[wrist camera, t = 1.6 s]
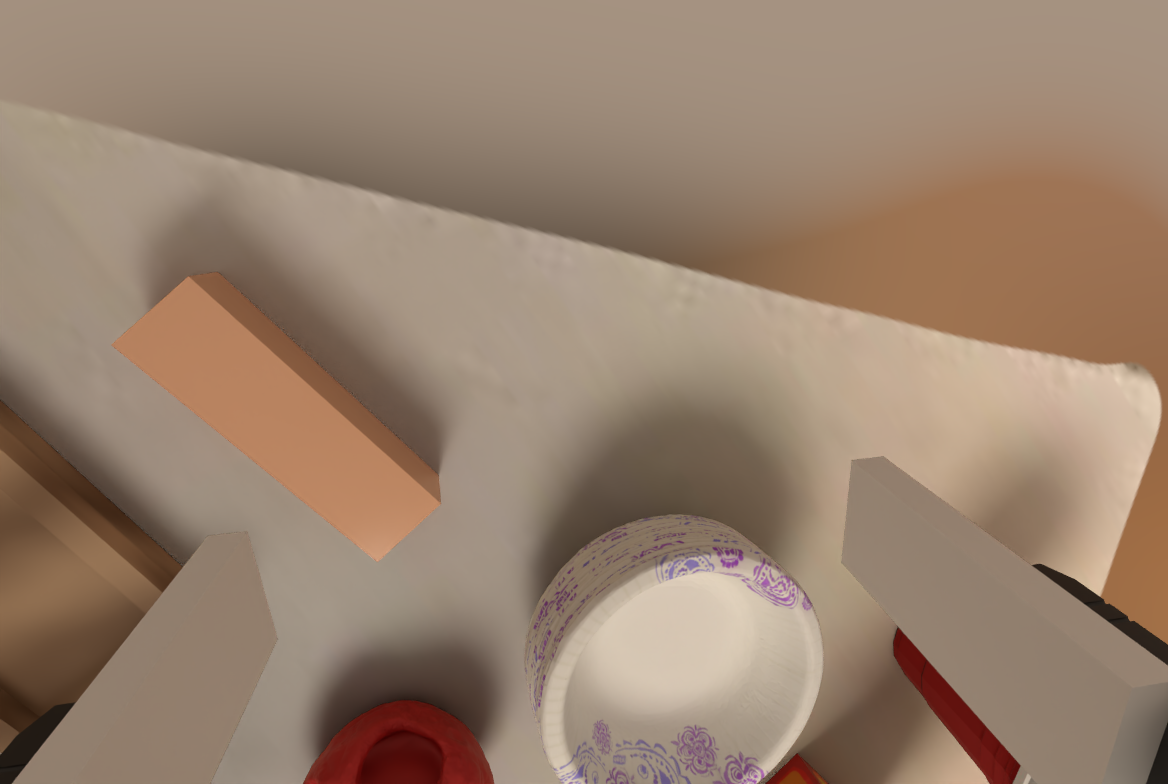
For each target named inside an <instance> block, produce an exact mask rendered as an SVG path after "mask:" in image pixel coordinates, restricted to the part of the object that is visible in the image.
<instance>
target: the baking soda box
mask: <svg viewBox="0 0 1168 784" xmlns="http://www.w3.org/2000/svg"><path fill="white" fill-rule="evenodd" d="M766 784H828V783H827V782H826V781H825V780H824V779H823V778H822V777H821V776H820V775H819V774H818V773H817V772H816V771H815V770H814V769H813V768H812V767H811V766H810V765H809V764H808V763H807V762H806V761H805V760H804V759H803V758H802V757H801V756H800V755H799V754H798V753H797V754H796V755H795V756H794V757H793V758H792V759H791V760H790V761H789V762H788V763H787V764H786V765H785V766H784V767H783V768H782V769H780V770H779V771H778V772H777V773H776V774H775V775H774V776H773V777H772V778H771V779H770V780H769V781H768V782H767V783H766Z"/></svg>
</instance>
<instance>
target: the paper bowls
mask: <svg viewBox="0 0 1168 784" xmlns="http://www.w3.org/2000/svg"><path fill="white" fill-rule="evenodd" d="M823 665H824V657H823V642H822V633H821V629H820V624H819V620H818V618H817V615H816V612H815V610H814V607H813V605H812V603H811V601H810V600H809V598H808V597H807V595H806V593H805V592H804V590H803V589H802V587H801V586H800V585H799V583H798V582H797V581H796V580H795V579H794V578H793V577H792V576H791V575H790V574H789V573H787V572H786V571H785V570H784V569H783V568H782V567H781V566H780V565H779V564H778V563H776V562H775V561H774V560H773V559H772V558H770V557H769V556H768V555H767V554H766V553H764V552H763V551H762V550H761V549H760V548H759V547H757V546H756V545H755V544H754V543H752V542H751V541H750V540H749V539H747V538H746V537H744V536H743V535H742V534H740V533H739V532H737V531H735V530H734V529H733V528H731V527H729V526H727V525H725V524H723V523H721V522H718V521H716V520H713V519H708V518H704V517H700V516H694V515H683V514H676V515H672V514H668V515H666V516H655V517H648V518H643V519H638V520H636V521H633V522H630V523H626V524H624V525H623V526H620V527H616V528H614V529H613V530H611V531H609V532H606V533H604V534H602V535H601V536H600V537H598V538H596V539H595V540H593V541H592V542H590V543H589V544H587V545H585V547H583V548H581V549H580V550H579V551H578V553H577V554H576V555H574V556H573V557H572V558H571V560H570V561H569V562H568V563H567V564H565V565H564V566H563V567H562V569H561V570H560V571H559V572H558V573H557V575H556V576H555V577H554V579H553V580H552V582H551V583H550V584H549V585H548V586H547V589H546V590H545V592H544V593H543V595H542V596H541V598H540V600H539V602H538V604H537V606H536V608H535V611H534V613H533V615H532V617H531V620H530V623H529V627H528V631H527V636H526V645H525V672H526V679H527V687H528V692H529V696H530V699H531V705H532V709H533V713H534V717H535V720H536V723H537V726H538V730H539V735H540V739H541V743H542V747H543V749H544V752H545V755H546V757H547V759H548V761H549V763H550V766H551V768H552V769H553V771H554V772H555V774H556V776H557V777H558V778H559V779H560V781H561V782H562V784H757V783H758V782H759V781H760V780H761V779H762V778H764V777H765V776H766V775H767V774H768V773H769V772H770V771H771V770H772V769H773V768H774V767H775V766H776V765H777V764H778V763H779V762H780V761H781V759H782V758H783V757H784V756H785V754H786V753H787V752H788V751H789V749H790V748H791V747H792V745H793V744H794V743H795V741H796V740H797V738H798V737H799V735H800V733H801V732H802V730H803V729H804V727H805V725H806V723H807V721H808V719H809V717H810V714H811V712H812V710H813V707H814V705H815V702H816V699H817V696H818V692H819V688H820V684H821V680H822V674H823Z"/></svg>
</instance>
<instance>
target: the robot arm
mask: <svg viewBox="0 0 1168 784" xmlns="http://www.w3.org/2000/svg"><path fill="white" fill-rule="evenodd" d="M841 563H842V564H843V565H844V566H845V567H846V568H847V569H848V570H849V572H850V573H851V574H852V575H853V576H854V577H855V578H856V579H857V581H858V582H859V583H860V584H861V585H862V586H863V587H864V589H865V590H866V591H867V592H868V593H869V594H870V595H871V596H872V598H873V599H874V600H875V601H876V602H877V603H878V604H879V606H880V607H881V608H882V609H883V610H884V611H885V612H886V613H887V615H888V616H889V617H890V618H891V619H892V620H893V621H894V622H895V624H896V625H897V626H898V627H899V628H900V629H901V630H902V632H903V633H904V634H905V635H906V636H907V637H908V638H909V639H910V641H911V642H912V643H913V644H914V645H915V646H916V647H917V649H918V650H919V651H920V652H921V653H922V654H923V655H924V656H925V658H926V659H927V660H928V661H929V662H930V663H931V664H932V665H933V667H934V668H935V669H936V670H937V671H938V672H939V673H940V675H941V676H942V677H943V678H944V679H945V680H946V681H947V682H948V684H949V685H950V686H951V687H952V688H953V689H954V690H955V692H956V693H957V694H958V695H959V696H960V697H961V698H962V699H963V701H964V702H965V703H966V704H967V705H968V706H969V707H970V708H971V710H972V711H973V712H974V713H975V714H976V715H977V716H978V718H979V719H980V720H981V721H982V722H983V723H984V724H985V725H986V727H987V728H988V729H989V730H990V731H991V732H992V733H993V735H994V736H995V737H996V738H997V739H998V740H999V741H1000V742H1001V744H1002V745H1003V746H1004V747H1005V748H1006V749H1007V750H1008V751H1009V753H1010V754H1011V755H1012V756H1013V757H1014V758H1015V759H1016V761H1017V762H1018V763H1019V764H1020V765H1021V766H1022V767H1023V768H1024V770H1025V771H1026V772H1027V773H1028V774H1029V775H1030V776H1031V777H1032V779H1033V780H1034V781H1035V782H1036V783H1037V784H1168V645H1167V644H1166V643H1165V642H1163V641H1162V640H1160V639H1159V638H1158V637H1156V636H1155V635H1153V634H1152V633H1150V632H1149V631H1148V630H1146V629H1145V628H1143V627H1142V626H1140V625H1139V624H1138V623H1136V622H1135V621H1131V622H1130V621H1129V619H1128V616H1126V615H1125V614H1123V613H1122V612H1121V611H1119V610H1118V609H1116V608H1115V607H1114V606H1112V605H1110V604H1105V602H1104V599H1102V598H1101V597H1099V596H1098V595H1096V594H1095V593H1094V592H1092V591H1091V590H1089V589H1088V588H1087V587H1085V586H1084V585H1082V584H1081V583H1079V582H1078V581H1077V580H1075V579H1073V578H1071V577H1068V576H1066V575H1064V574H1062V573H1060V572H1057V571H1055V570H1053V569H1051V568H1049V567H1046V566H1044V565H1042V564H1036V565H1030V564H1029V563H1028V562H1026V561H1025V560H1024V559H1022V558H1021V557H1019V556H1018V555H1017V554H1015V553H1014V552H1013V551H1011V550H1010V549H1009V548H1007V547H1006V546H1004V545H1003V544H1002V543H1000V542H999V541H998V540H996V539H995V538H994V537H992V536H991V535H990V534H988V533H987V532H985V531H984V530H983V529H981V528H980V527H979V526H977V525H976V524H975V523H973V522H972V521H970V520H969V519H968V518H966V517H965V516H964V515H962V514H961V513H960V512H958V511H957V510H956V509H954V508H953V507H951V506H950V505H949V504H947V503H946V502H945V501H943V500H942V499H941V498H939V497H938V496H936V495H935V494H934V493H932V492H931V491H930V490H928V489H927V488H926V487H924V486H923V485H922V484H920V483H919V482H917V481H916V480H915V479H913V478H912V477H911V476H909V475H908V474H907V473H905V472H904V471H902V470H901V469H900V468H898V467H897V466H896V465H894V464H893V463H892V462H890V461H889V460H888V459H886V458H885V457H883V456H882V457H874V458H865V459H857V460H852V462H851V472H850V482H849V492H848V502H847V511H846V521H845V531H844V541H843V551H842V561H841ZM277 640H278V638H277V634H276V631H275V627H274V624H273V620H272V617H271V613H270V610H269V606H268V603H267V599H266V596H265V592H264V588H263V585H262V581H261V578H260V574H259V571H258V567H257V564H256V560H255V557H254V553H253V550H252V546H251V543H250V539H249V536H248V532H247V531H245V532H236V533H228V534H219V535H211V536H207V538H206V539H205V540H204V541H203V543H202V544H201V545H200V546H199V548H198V549H197V550H196V551H195V553H194V554H193V555H192V557H191V558H190V559H189V560H188V562H187V563H186V564H185V565H184V567H183V568H182V569H181V570H180V572H179V573H178V574H177V575H176V577H175V578H174V579H173V581H172V582H171V583H170V584H169V586H168V587H167V588H166V589H165V591H164V592H163V593H162V594H161V596H160V597H159V598H158V600H157V601H156V602H155V603H154V605H153V606H152V607H151V608H150V610H149V611H148V612H147V613H146V615H145V616H144V617H143V618H142V620H141V621H140V622H139V624H138V625H137V626H136V627H135V629H134V630H133V631H132V632H131V634H130V635H129V636H128V637H127V639H126V640H125V641H124V643H123V644H122V645H121V646H120V648H119V649H118V650H117V651H116V653H115V654H114V655H113V656H112V658H111V659H110V660H109V661H108V663H107V664H106V665H105V667H104V668H103V669H102V670H101V672H100V673H99V674H98V675H97V677H96V678H95V679H94V680H93V682H92V683H91V684H90V685H89V687H88V688H87V689H86V691H85V692H84V693H83V694H82V696H81V697H80V698H79V699H78V701H77V702H75V703H68V704H60V705H55V706H54V707H52V708H51V709H50V710H49V711H47V712H46V713H45V714H43V715H42V716H41V717H40V718H38V719H37V720H36V721H35V722H33V723H32V724H31V725H30V726H28V727H27V728H26V729H24V730H23V731H22V732H21V733H19V734H18V735H17V736H16V737H15V738H14V739H13V741H12V742H11V743H10V744H9V745H8V746H7V748H6V749H5V750H4V751H3V752H2V754H1V755H0V784H210V783H211V781H212V779H213V777H214V775H215V772H216V770H217V768H218V766H219V764H220V762H221V760H222V757H223V755H224V753H225V751H226V749H227V747H228V745H229V743H230V740H231V738H232V736H233V734H234V732H235V730H236V728H237V725H238V723H239V721H240V719H241V717H242V715H243V713H244V710H245V708H246V706H247V704H248V702H249V700H250V698H251V695H252V693H253V691H254V689H255V687H256V685H257V683H258V680H259V678H260V676H261V674H262V672H263V670H264V668H265V665H266V663H267V661H268V659H269V657H270V655H271V653H272V650H273V648H274V646H275V644H276V642H277Z"/></svg>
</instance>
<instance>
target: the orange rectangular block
mask: <svg viewBox="0 0 1168 784" xmlns="http://www.w3.org/2000/svg"><path fill="white" fill-rule="evenodd" d="M112 346H113V347H114V348H115V349H117V350H118V351H119V352H120V353H122V354H123V355H124V356H125V357H127V358H128V359H129V360H130V361H131V362H133V363H134V364H135V365H136V366H138V367H139V368H140V369H141V370H142V371H144V372H145V373H146V374H147V375H149V376H150V377H151V378H152V379H153V380H155V381H156V382H157V383H158V384H160V385H161V386H162V387H163V388H165V389H166V390H167V391H168V392H169V393H171V394H172V395H173V396H174V397H176V398H177V399H178V400H179V401H180V402H182V403H183V404H184V405H185V406H187V407H188V408H189V409H190V410H191V411H193V412H194V413H195V414H196V415H198V416H199V417H200V418H201V419H203V420H204V421H205V422H206V423H207V424H209V425H210V426H211V427H212V428H214V429H215V430H216V431H217V432H218V433H220V434H221V435H222V436H223V437H225V438H226V439H227V440H228V441H229V442H231V443H232V444H233V445H234V446H236V447H237V448H238V449H239V450H241V451H242V452H243V453H244V454H245V455H247V456H248V457H249V458H250V459H252V460H253V461H254V462H255V463H256V464H258V465H259V466H260V467H261V468H263V469H264V470H265V471H266V472H267V473H269V474H270V475H271V476H272V477H274V478H275V479H276V480H277V481H279V482H280V483H281V484H282V485H283V486H285V487H286V488H287V489H288V490H290V491H291V492H292V493H293V494H294V495H296V496H297V497H298V498H299V499H301V500H302V501H303V502H304V503H305V504H307V505H308V506H309V507H310V508H312V509H313V510H314V511H315V512H317V513H318V514H319V515H320V516H321V517H323V518H324V519H325V520H326V521H328V522H329V523H330V524H331V525H332V526H334V527H335V528H336V529H337V530H339V531H340V532H341V533H342V534H343V535H345V536H346V537H347V538H348V539H350V540H351V541H352V542H353V543H355V544H356V545H357V546H358V547H359V548H361V549H362V550H363V551H364V552H366V553H367V554H368V555H369V556H370V557H372V558H373V559H374V560H375V561H377V562H378V561H379V560H380V559H381V558H383V557H384V556H385V555H386V554H387V553H388V552H389V551H390V550H391V549H392V548H393V547H394V546H396V545H397V544H398V543H399V542H400V541H401V540H402V539H403V538H404V537H405V536H406V535H407V534H409V533H410V532H411V531H412V530H413V529H414V528H415V527H416V526H417V525H418V524H419V523H421V522H422V521H423V520H424V519H425V518H426V517H427V516H428V515H429V514H430V513H431V512H432V511H434V510H435V509H436V508H437V507H438V506H439V505H440V504H441V498H440V485H439V475H438V474H437V473H436V472H434V471H433V470H432V469H431V468H430V467H429V466H428V465H427V464H426V463H425V462H424V461H423V460H421V459H420V458H419V457H418V456H417V455H416V454H415V453H414V452H413V451H412V450H411V449H409V448H408V447H407V446H406V445H405V444H404V443H403V442H402V441H401V440H400V439H399V438H398V437H396V436H395V435H394V434H393V433H392V432H391V431H390V430H389V429H388V428H387V427H386V426H385V425H383V424H382V423H381V422H380V421H379V420H378V419H377V418H376V417H375V416H374V415H373V414H371V413H370V412H369V411H368V410H367V409H366V408H365V407H364V406H363V405H362V404H361V403H360V402H358V401H357V400H356V399H355V398H354V397H353V396H352V395H351V394H350V393H349V392H348V391H347V390H345V389H344V388H343V387H342V386H341V385H340V384H339V383H338V382H337V381H336V380H335V379H333V378H332V377H331V376H330V375H329V374H328V373H327V372H326V371H325V370H324V369H323V368H322V367H320V366H319V365H318V364H317V363H316V362H315V361H314V360H313V359H312V358H311V357H310V356H309V355H307V354H306V353H305V352H304V351H303V350H302V349H301V348H300V347H299V346H298V345H297V344H295V343H294V342H293V341H292V340H291V339H290V338H289V337H288V336H287V335H286V334H285V333H284V332H282V331H281V330H280V329H279V328H278V327H277V326H276V325H275V324H274V323H273V322H272V321H271V320H269V319H268V318H267V317H266V316H265V315H264V314H263V313H262V312H261V311H260V310H259V309H257V308H256V307H255V306H254V305H253V304H252V303H251V302H250V301H249V300H248V299H247V298H246V297H244V296H243V295H242V294H241V293H240V292H239V291H238V290H237V289H236V288H235V287H234V286H232V285H231V284H230V283H229V282H228V281H227V280H226V279H225V278H224V277H223V276H222V275H221V274H219V273H218V272H213V273H207V274H200V275H193V276H188V277H187V278H186V279H185V280H184V281H182V282H181V283H180V284H179V285H178V286H177V287H176V288H175V289H173V290H172V291H171V292H170V293H169V294H168V295H167V296H166V297H164V298H163V299H162V300H161V301H160V302H159V303H158V304H157V305H155V306H154V307H153V308H152V309H151V310H150V311H149V312H148V313H146V314H145V315H144V316H143V317H142V318H141V319H140V320H139V321H138V322H136V323H135V324H134V325H133V326H132V327H131V328H130V329H129V330H127V331H126V332H125V333H124V334H123V335H122V336H121V337H120V338H118V339H117V340H116V341H115V342H114V343H113V344H112Z"/></svg>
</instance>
